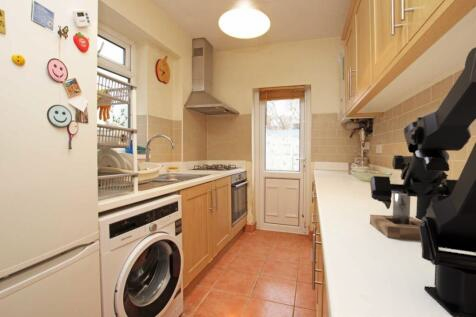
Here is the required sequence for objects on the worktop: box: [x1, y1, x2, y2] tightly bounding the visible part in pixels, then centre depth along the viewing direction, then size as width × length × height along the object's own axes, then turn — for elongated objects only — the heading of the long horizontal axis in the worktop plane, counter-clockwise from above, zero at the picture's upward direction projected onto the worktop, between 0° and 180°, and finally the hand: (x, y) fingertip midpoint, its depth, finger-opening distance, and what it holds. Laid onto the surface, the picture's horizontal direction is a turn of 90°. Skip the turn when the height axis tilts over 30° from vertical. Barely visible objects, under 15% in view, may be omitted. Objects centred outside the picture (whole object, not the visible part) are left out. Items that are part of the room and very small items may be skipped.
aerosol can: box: [414, 171, 449, 221], centre depth 79 cm, size 8×8×20 cm
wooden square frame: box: [369, 214, 421, 241], centre depth 67 cm, size 12×12×3 cm
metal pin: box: [392, 194, 411, 225], centre depth 66 cm, size 4×4×12 cm
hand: (408, 209), depth 60 cm, fingers open, 9 cm apart
